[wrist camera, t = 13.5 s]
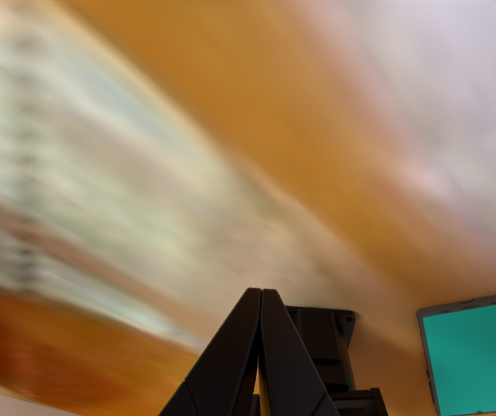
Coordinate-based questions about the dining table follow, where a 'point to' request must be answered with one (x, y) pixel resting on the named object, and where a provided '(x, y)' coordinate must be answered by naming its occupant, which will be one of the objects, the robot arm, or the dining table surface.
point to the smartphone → (461, 355)
